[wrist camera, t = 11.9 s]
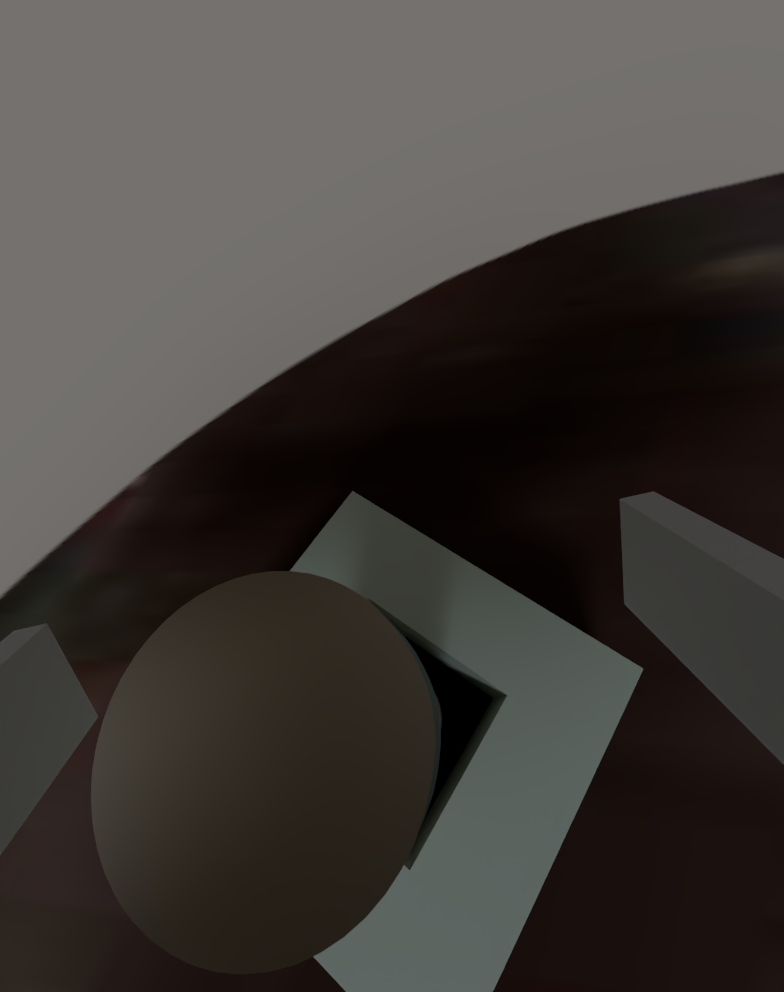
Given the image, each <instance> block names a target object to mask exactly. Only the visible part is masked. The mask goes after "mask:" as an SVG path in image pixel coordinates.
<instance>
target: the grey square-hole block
mask: <svg viewBox="0 0 784 992" xmlns="http://www.w3.org/2000/svg"><path fill="white" fill-rule="evenodd" d="M290 571H294V572H302V573H310V574H313V575H317V576H321V577H324V578H328V579H330V580H333V581H335V582H337V583H340V584H342V585H344V586H346V587H348V588H350V589H351V590H353V591H355V592H356V593H358V594H360V595H361V596H363V597H364V598H365V599H366V600H368V601H369V602H370V603H371V604H373V605H374V606H375V607H376V608H378V610H379V611H380V612H381V613H382V614H383V615H384V616H385V617H386V618H387V619H388V620H389V621H390V622H391V623H392V624H393V625H394V626H395V627H396V628H397V629H398V631H399V632H400V633H401V634H403V635H404V636H406V637H407V638H408V639H410V640H411V641H413V642H414V643H415V644H417V645H418V646H420V647H421V648H422V649H424V650H425V651H427V652H428V653H430V654H431V655H432V656H434V657H435V658H437V659H438V660H439V661H441V662H442V663H444V664H445V665H446V666H448V667H449V668H451V669H452V670H453V671H455V672H456V673H458V674H459V675H461V676H462V677H463V678H465V679H466V680H468V681H469V682H470V683H472V684H473V685H475V686H476V687H477V688H479V689H480V690H482V691H483V692H485V693H486V694H487V695H489V696H490V697H492V698H493V699H492V701H491V703H490V705H489V706H488V708H487V710H486V712H485V713H484V715H483V717H482V719H481V721H480V722H479V724H478V726H477V728H476V729H475V731H474V733H473V735H472V736H471V738H470V740H469V742H468V744H467V745H466V747H465V749H464V751H463V752H462V754H461V756H460V758H459V759H458V761H457V763H456V765H455V767H454V768H453V770H452V772H451V774H450V775H449V777H448V779H447V781H446V782H445V784H444V786H443V788H442V790H441V791H440V793H439V795H438V797H437V798H436V800H435V802H434V804H433V805H432V807H431V809H430V811H429V813H428V814H427V816H426V818H425V820H424V821H423V823H422V825H421V827H420V828H419V831H418V834H417V837H416V840H415V843H414V845H413V847H412V849H411V851H410V853H409V855H408V857H407V859H406V861H405V864H404V866H403V868H402V870H401V871H400V873H399V874H398V876H397V877H396V879H395V881H394V882H393V884H392V885H391V887H390V888H389V890H388V891H387V893H386V894H385V896H384V897H383V898H382V899H381V900H380V902H379V903H378V904H377V905H376V906H375V907H374V909H373V910H372V911H371V912H370V913H369V915H368V916H367V917H366V918H365V919H364V920H363V921H362V922H360V923H359V924H358V925H357V926H356V927H355V928H354V929H353V930H352V931H350V932H349V933H348V934H347V935H346V936H345V937H344V938H342V939H341V940H339V941H338V942H336V943H335V944H333V945H332V946H330V947H329V948H327V949H326V950H324V951H323V952H321V953H319V954H317V955H315V956H313V957H314V958H315V959H316V960H317V961H318V962H319V963H320V964H321V965H322V966H323V967H324V969H325V970H326V971H327V972H328V973H329V974H330V975H331V976H332V977H333V978H334V979H335V980H336V981H337V982H338V983H339V985H340V986H341V987H342V988H343V989H344V990H345V991H346V992H493V990H494V988H495V986H496V984H497V982H498V980H499V977H500V975H501V973H502V971H503V969H504V967H505V965H506V962H507V960H508V958H509V956H510V954H511V952H512V950H513V947H514V945H515V943H516V941H517V939H518V937H519V935H520V932H521V930H522V928H523V926H524V924H525V922H526V920H527V917H528V915H529V913H530V911H531V909H532V907H533V905H534V902H535V900H536V898H537V896H538V894H539V892H540V890H541V887H542V885H543V883H544V881H545V879H546V877H547V875H548V872H549V870H550V868H551V866H552V864H553V862H554V859H555V857H556V855H557V853H558V851H559V849H560V847H561V844H562V842H563V840H564V838H565V836H566V834H567V832H568V829H569V827H570V825H571V823H572V821H573V819H574V817H575V814H576V812H577V810H578V808H579V806H580V804H581V802H582V799H583V797H584V795H585V793H586V791H587V789H588V787H589V784H590V782H591V780H592V778H593V776H594V774H595V772H596V769H597V767H598V765H599V763H600V761H601V759H602V757H603V754H604V752H605V750H606V748H607V746H608V744H609V742H610V739H611V737H612V735H613V733H614V731H615V729H616V726H617V724H618V722H619V720H620V718H621V716H622V714H623V711H624V709H625V707H626V705H627V703H628V701H629V699H630V696H631V694H632V692H633V690H634V688H635V686H636V684H637V681H638V679H639V677H640V675H641V673H642V671H643V668H641V667H639V666H638V665H636V664H635V663H633V662H631V661H630V660H628V659H626V658H625V657H623V656H621V655H620V654H618V653H617V652H615V651H613V650H612V649H610V648H608V647H607V646H605V645H604V644H602V643H600V642H599V641H597V640H595V639H594V638H592V637H590V636H589V635H587V634H586V633H584V632H582V631H581V630H579V629H577V628H576V627H574V626H572V625H571V624H569V623H568V622H566V621H564V620H563V619H561V618H559V617H558V616H556V615H554V614H553V613H551V612H550V611H548V610H546V609H545V608H543V607H541V606H540V605H538V604H537V603H535V602H533V601H532V600H530V599H528V598H527V597H525V596H523V595H522V594H520V593H519V592H517V591H515V590H514V589H512V588H510V587H509V586H507V585H505V584H504V583H502V582H501V581H499V580H497V579H496V578H494V577H492V576H491V575H489V574H487V573H486V572H484V571H483V570H481V569H479V568H478V567H476V566H474V565H473V564H471V563H469V562H468V561H466V560H465V559H463V558H461V557H460V556H458V555H456V554H455V553H453V552H452V551H450V550H448V549H447V548H445V547H443V546H442V545H440V544H438V543H437V542H435V541H434V540H432V539H430V538H429V537H427V536H425V535H424V534H422V533H420V532H419V531H417V530H416V529H414V528H412V527H411V526H409V525H407V524H406V523H404V522H402V521H401V520H399V519H398V518H396V517H394V516H393V515H391V514H389V513H388V512H386V511H385V510H383V509H381V508H380V507H378V506H376V505H375V504H373V503H371V502H370V501H368V500H367V499H365V498H363V497H362V496H360V495H358V494H357V493H355V492H353V491H352V492H351V494H350V495H349V496H348V497H347V499H346V500H345V501H344V502H343V504H342V505H341V506H340V508H339V509H338V510H337V511H336V513H335V514H334V515H333V516H332V518H331V519H330V520H329V522H328V523H327V524H326V525H325V527H324V528H323V529H322V530H321V532H320V533H319V534H318V536H317V537H316V538H315V539H314V541H313V542H312V543H311V545H310V546H309V547H308V548H307V550H306V551H305V552H304V553H303V555H302V556H301V557H300V559H299V560H298V561H297V562H296V564H295V565H294V566H293V567H292V569H291V570H290Z"/></svg>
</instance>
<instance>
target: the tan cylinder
mask: <svg viewBox="0 0 784 992" xmlns="http://www.w3.org/2000/svg"><path fill="white" fill-rule="evenodd" d="M441 728H442V711H441V706H440V703H439V700H438V698H437V696H436V694H435V692H434V690H433V687H432V684H431V682H430V679H429V677H428V675H427V673H426V670H425V668H424V667H423V665H422V663H421V661H420V659H419V657H418V656H417V654H416V652H415V651H414V649H413V648H412V646H411V645H410V644H409V642H408V641H407V640H406V638H405V637H404V636H403V635H402V634H401V633H400V632H399V631H398V629H397V628H396V627H395V626H394V625H393V624H392V623H391V622H390V621H389V620H388V619H387V618H386V617H385V616H384V615H383V614H382V613H381V612H380V611H379V610H378V608H376V607H375V606H374V605H373V604H371V603H370V602H369V601H368V600H366V599H365V598H364V597H363V596H361V595H360V594H358V593H356V592H355V591H353V590H351V589H350V588H348V587H346V586H344V585H342V584H340V583H337V582H335V581H333V580H330V579H328V578H324V577H321V576H317V575H313V574H310V573H302V572H294V571H270V572H262V573H255V574H250V575H247V576H243V577H239V578H235V579H232V580H230V581H227V582H225V583H222V584H220V585H217V586H215V587H213V588H211V589H210V590H208V591H206V592H204V593H202V594H200V595H199V596H197V597H195V598H194V599H193V600H191V601H190V602H188V603H187V604H185V605H184V606H182V607H181V608H180V609H179V610H177V611H176V612H175V613H174V614H173V615H172V616H170V617H169V618H168V619H167V620H166V621H165V622H164V623H163V624H162V625H161V626H160V627H159V628H158V629H157V630H156V631H155V632H154V633H153V634H152V635H151V636H150V637H149V639H148V640H147V641H146V642H145V644H144V645H143V646H142V648H141V649H140V650H139V652H138V653H137V654H136V656H135V657H134V658H133V660H132V662H131V663H130V665H129V667H128V668H127V670H126V671H125V673H124V675H123V676H122V678H121V680H120V682H119V684H118V686H117V688H116V690H115V692H114V694H113V696H112V698H111V701H110V704H109V706H108V709H107V712H106V714H105V717H104V720H103V722H102V726H101V730H100V734H99V738H98V741H97V745H96V751H95V757H94V764H93V770H92V786H91V807H92V822H93V829H94V834H95V840H96V845H97V850H98V854H99V857H100V860H101V863H102V866H103V869H104V872H105V875H106V877H107V879H108V882H109V884H110V886H111V888H112V890H113V892H114V894H115V896H116V898H117V900H118V901H119V903H120V904H121V906H122V907H123V909H124V910H125V912H126V913H127V914H128V916H129V917H130V919H131V920H132V921H133V922H134V923H135V924H136V926H137V927H138V928H139V929H140V930H141V931H142V932H143V933H144V934H145V935H146V936H147V937H148V938H149V939H150V940H151V941H153V942H154V943H155V944H157V945H158V946H159V947H161V948H162V949H163V950H165V951H166V952H167V953H169V954H171V955H173V956H175V957H177V958H179V959H181V960H183V961H185V962H187V963H189V964H191V965H193V966H197V967H200V968H204V969H207V970H211V971H214V972H221V973H232V974H252V973H263V972H270V971H274V970H278V969H281V968H285V967H288V966H292V965H295V964H298V963H300V962H302V961H304V960H306V959H308V958H311V957H313V956H315V955H317V954H319V953H321V952H323V951H324V950H326V949H327V948H329V947H330V946H332V945H333V944H335V943H336V942H338V941H339V940H341V939H342V938H344V937H345V936H346V935H347V934H348V933H349V932H350V931H352V930H353V929H354V928H355V927H356V926H357V925H358V924H359V923H360V922H362V921H363V920H364V919H365V918H366V917H367V916H368V915H369V913H370V912H371V911H372V910H373V909H374V907H375V906H376V905H377V904H378V903H379V902H380V900H381V899H382V898H383V897H384V896H385V894H386V893H387V891H388V890H389V888H390V887H391V885H392V884H393V882H394V881H395V879H396V877H397V876H398V874H399V873H400V871H401V870H402V868H403V866H404V864H405V861H406V859H407V857H408V855H409V853H410V851H411V849H412V847H413V845H414V843H415V840H416V837H417V834H418V831H419V828H420V826H421V824H422V822H423V820H424V818H425V816H426V813H427V810H428V807H429V804H430V802H431V799H432V796H433V792H434V788H435V783H436V778H437V774H438V767H439V758H440V747H441Z"/></svg>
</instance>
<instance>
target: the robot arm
mask: <svg viewBox="0 0 784 992" xmlns="http://www.w3.org/2000/svg"><path fill="white" fill-rule="evenodd" d="M620 518H621V540H622V562H623V584H624V604H625V605H626V606H627V607H628V608H629V609H630V610H631V611H632V612H633V613H634V614H635V615H636V616H637V617H638V618H639V619H640V620H641V621H642V622H643V623H644V624H645V625H646V626H647V627H648V628H649V629H650V630H651V631H652V632H653V633H654V634H655V635H656V636H657V637H658V638H659V639H660V640H661V641H662V642H663V643H664V644H665V645H666V646H667V647H668V648H669V649H670V650H671V651H672V652H673V653H674V654H675V656H676V657H677V658H678V659H679V660H680V661H681V662H682V663H683V664H684V665H685V666H686V667H687V668H688V669H689V670H690V671H691V672H692V673H693V674H694V675H695V676H696V677H697V678H698V679H699V680H700V681H701V682H702V683H703V684H704V685H705V686H706V687H707V688H708V689H709V690H710V691H711V692H712V693H713V694H714V695H715V696H716V697H717V698H718V699H719V700H720V701H721V702H722V703H723V704H724V705H725V706H726V707H727V708H728V709H729V710H730V711H731V712H732V713H733V714H734V715H735V716H736V717H737V718H738V719H739V720H740V721H741V722H742V723H743V724H744V725H745V726H746V727H747V728H748V729H749V730H750V731H751V732H752V733H753V734H754V735H755V736H756V737H757V738H758V739H759V740H760V741H761V742H762V743H763V744H764V745H765V746H766V747H767V748H768V749H769V750H770V751H771V752H772V753H773V754H774V755H775V756H776V758H777V759H778V760H779V761H780V762H781V763H782V764H783V765H784V559H782V558H780V557H779V556H777V555H775V554H773V553H771V552H769V551H767V550H765V549H763V548H761V547H759V546H757V545H755V544H754V543H752V542H750V541H748V540H746V539H744V538H742V537H740V536H738V535H736V534H734V533H732V532H730V531H729V530H727V529H725V528H723V527H721V526H719V525H717V524H715V523H713V522H711V521H709V520H707V519H705V518H704V517H702V516H700V515H698V514H696V513H694V512H692V511H690V510H688V509H686V508H684V507H682V506H680V505H679V504H677V503H675V502H673V501H671V500H669V499H667V498H665V497H663V496H661V495H659V494H657V493H655V492H649V493H645V494H640V495H635V496H631V497H626V498H622V499H620ZM97 718H98V716H97V714H96V712H95V710H94V708H93V706H92V705H91V703H90V701H89V699H88V697H87V696H86V694H85V692H84V690H83V688H82V686H81V685H80V683H79V681H78V679H77V677H76V676H75V674H74V672H73V670H72V668H71V666H70V665H69V663H68V661H67V659H66V657H65V656H64V654H63V652H62V650H61V648H60V646H59V645H58V643H57V641H56V639H55V637H54V635H53V634H52V632H51V630H50V628H49V626H48V625H47V624H43V625H38V626H34V627H29V628H25V629H20V630H15V631H13V632H12V633H11V634H10V635H8V636H7V637H6V638H5V639H4V640H2V641H1V642H0V855H1V854H2V852H3V851H4V850H5V848H6V847H7V845H8V844H9V842H10V841H11V840H12V838H13V837H14V835H15V834H16V833H17V831H18V830H19V828H20V827H21V826H22V824H23V823H24V821H25V820H26V818H27V817H28V816H29V814H30V813H31V811H32V810H33V809H34V807H35V806H36V804H37V803H38V801H39V800H40V799H41V797H42V796H43V794H44V793H45V792H46V790H47V789H48V787H49V786H50V784H51V783H52V782H53V780H54V779H55V777H56V776H57V775H58V773H59V772H60V770H61V769H62V767H63V766H64V765H65V763H66V762H67V760H68V759H69V758H70V756H71V755H72V753H73V752H74V750H75V749H76V748H77V746H78V745H79V743H80V742H81V741H82V739H83V738H84V736H85V735H86V733H87V732H88V731H89V729H90V728H91V726H92V725H93V724H94V722H95V721H96V719H97Z"/></svg>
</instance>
